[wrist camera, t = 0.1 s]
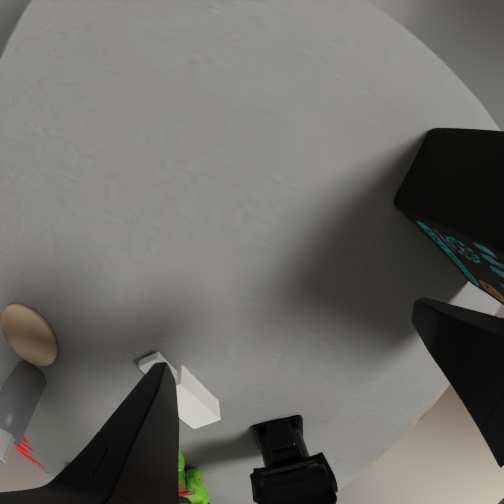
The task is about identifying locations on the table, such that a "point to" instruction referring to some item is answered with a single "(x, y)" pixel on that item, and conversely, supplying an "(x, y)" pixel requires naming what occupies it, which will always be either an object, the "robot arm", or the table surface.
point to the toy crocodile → (191, 484)
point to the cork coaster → (29, 334)
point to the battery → (461, 201)
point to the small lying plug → (188, 394)
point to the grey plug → (18, 404)
